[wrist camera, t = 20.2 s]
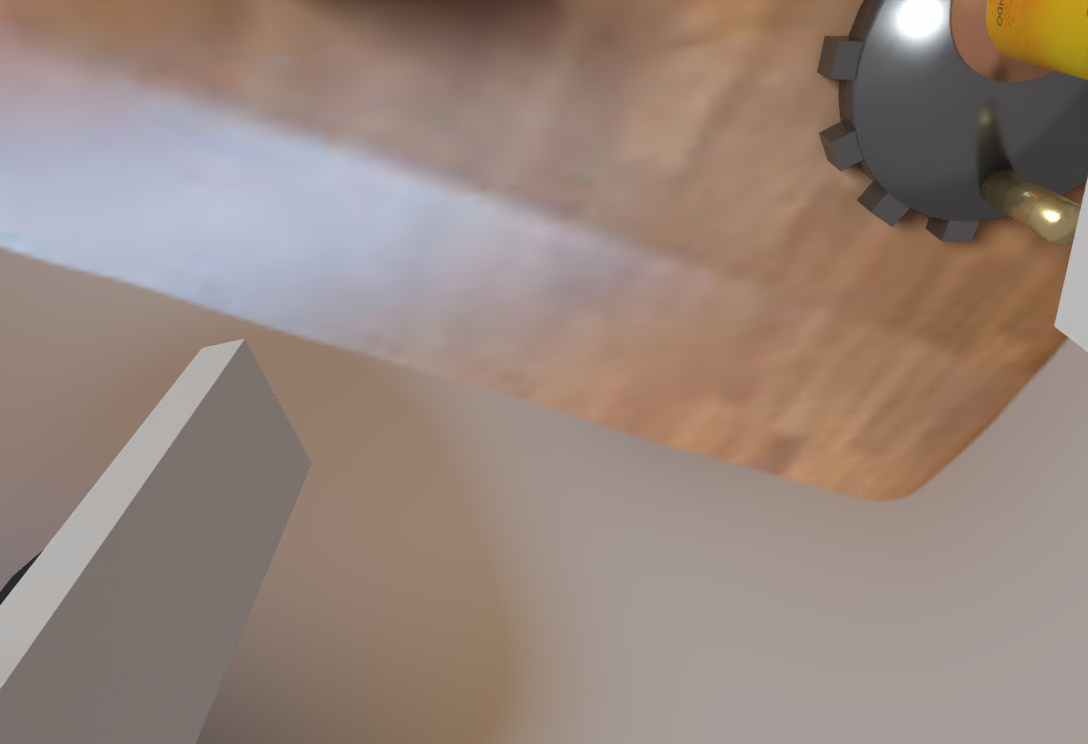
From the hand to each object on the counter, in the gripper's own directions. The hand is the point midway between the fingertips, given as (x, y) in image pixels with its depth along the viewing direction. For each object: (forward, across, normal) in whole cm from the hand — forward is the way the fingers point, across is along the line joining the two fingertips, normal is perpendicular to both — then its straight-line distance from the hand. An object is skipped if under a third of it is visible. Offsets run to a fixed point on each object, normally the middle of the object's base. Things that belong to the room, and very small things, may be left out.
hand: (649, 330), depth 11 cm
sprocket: (+31, +23, -6) cm, 39 cm away
